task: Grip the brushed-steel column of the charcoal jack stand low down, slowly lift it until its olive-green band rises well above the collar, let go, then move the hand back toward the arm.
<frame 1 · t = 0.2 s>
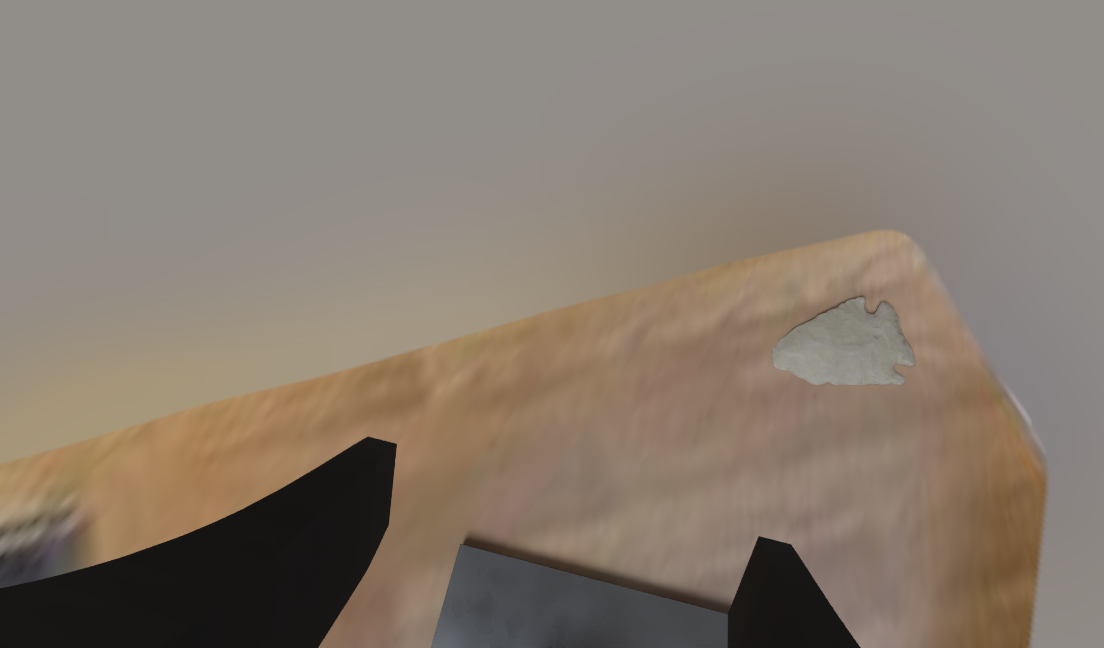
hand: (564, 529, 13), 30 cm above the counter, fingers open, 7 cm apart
arrowhead: (834, 353, 48), on the counter
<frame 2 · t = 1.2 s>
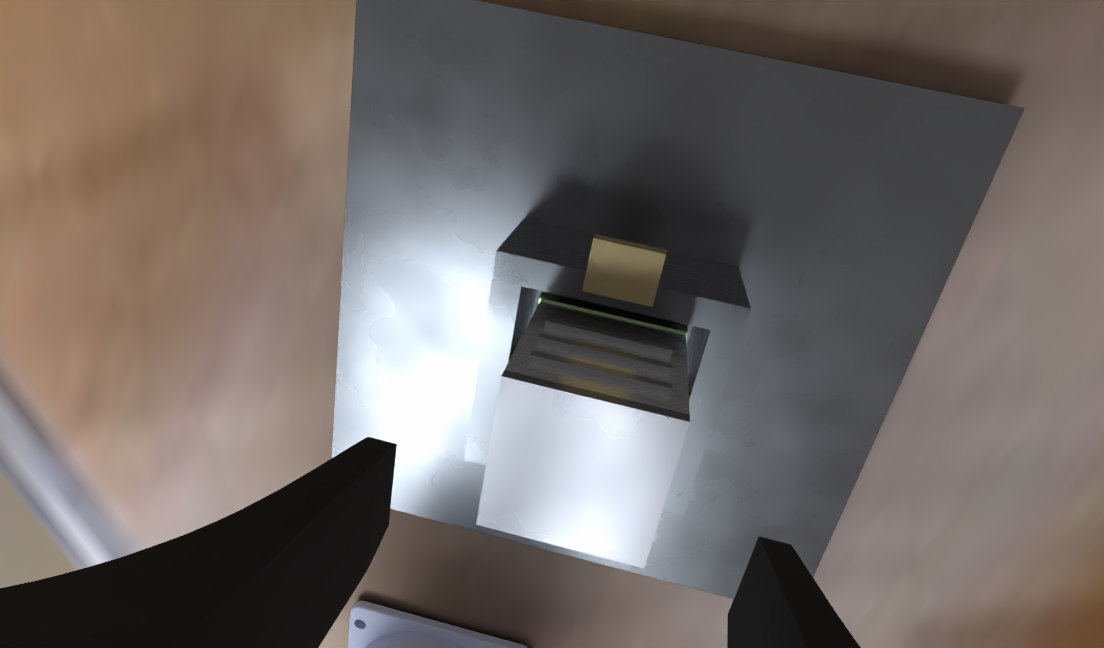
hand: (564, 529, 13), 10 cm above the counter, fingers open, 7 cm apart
column: (594, 395, 18), point 5 cm above the counter, slide at 0.0 cm
stand base: (609, 327, 22), on the counter
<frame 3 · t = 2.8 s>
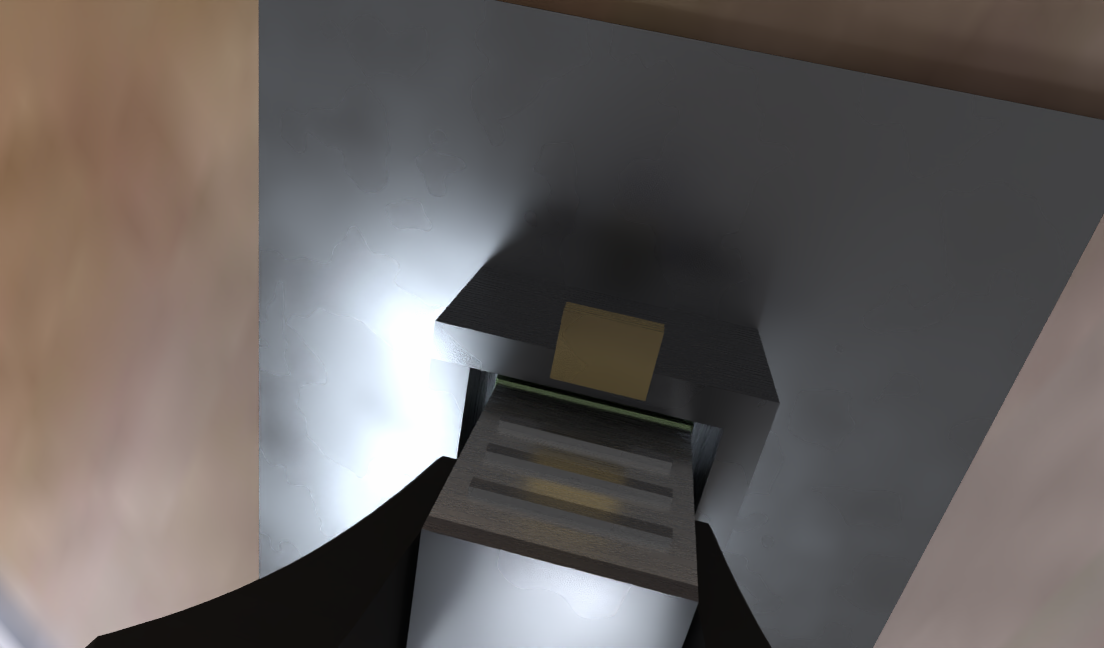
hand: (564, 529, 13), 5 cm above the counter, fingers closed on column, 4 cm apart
column: (568, 509, 13), point 5 cm above the counter, slide at 0.0 cm, touching gripper
stand base: (593, 396, 18), on the counter
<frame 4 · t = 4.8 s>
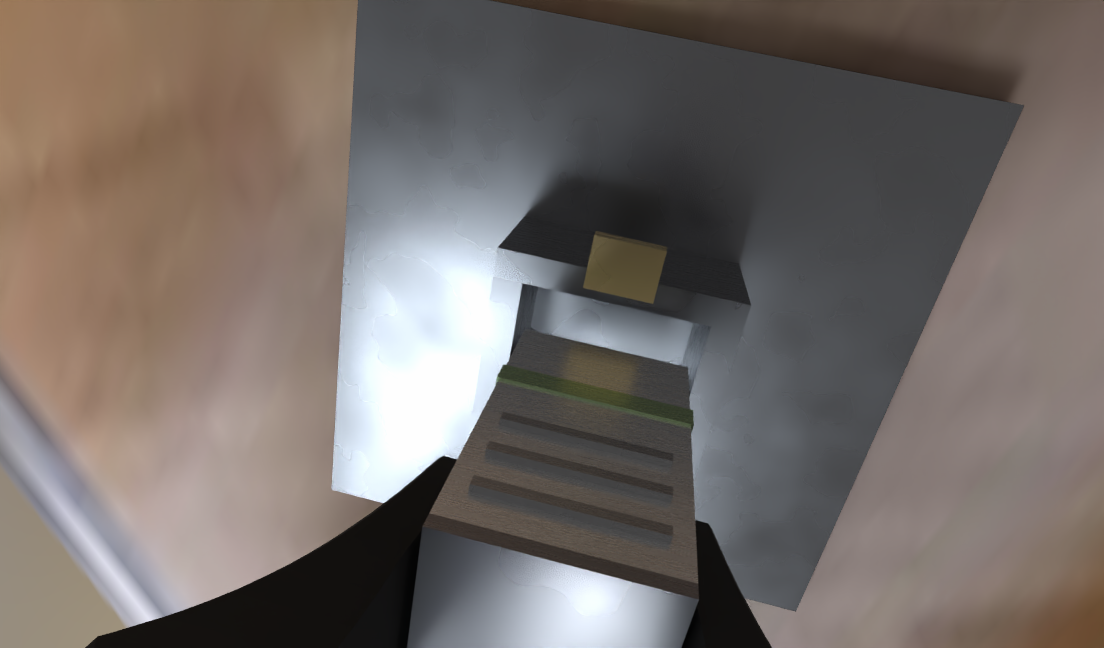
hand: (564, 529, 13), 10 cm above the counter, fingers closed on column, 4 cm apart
column: (569, 507, 14), point 10 cm above the counter, slide at 4.9 cm, touching gripper
stand base: (610, 324, 22), on the counter
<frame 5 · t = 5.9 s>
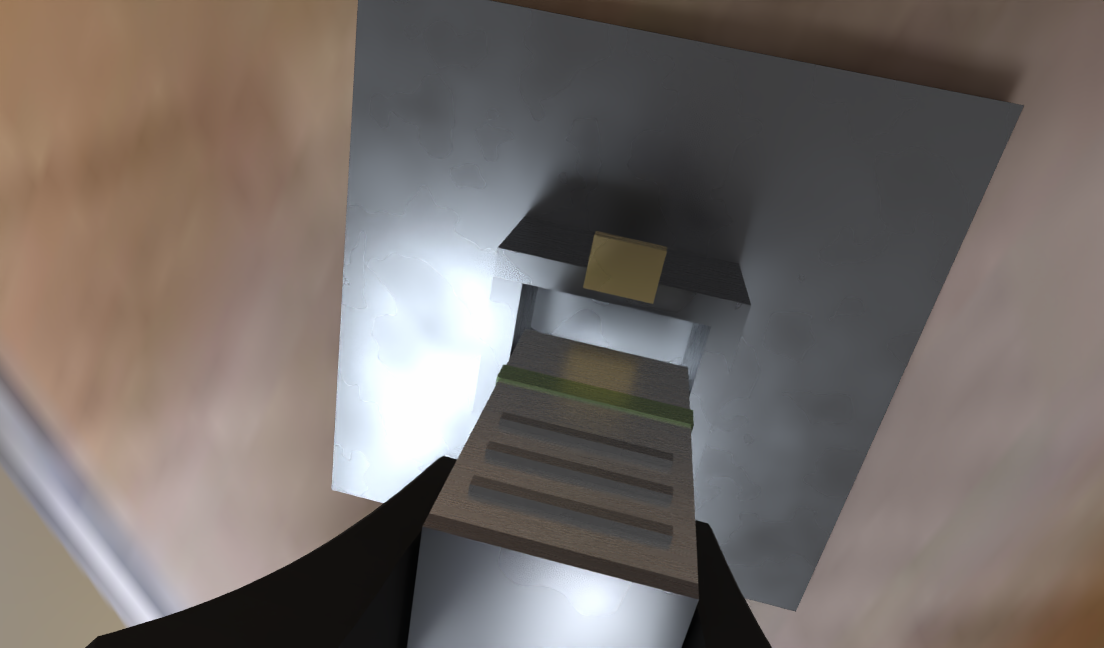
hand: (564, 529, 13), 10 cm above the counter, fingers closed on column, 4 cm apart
column: (569, 507, 14), point 10 cm above the counter, slide at 4.9 cm, touching gripper
stand base: (610, 324, 22), on the counter
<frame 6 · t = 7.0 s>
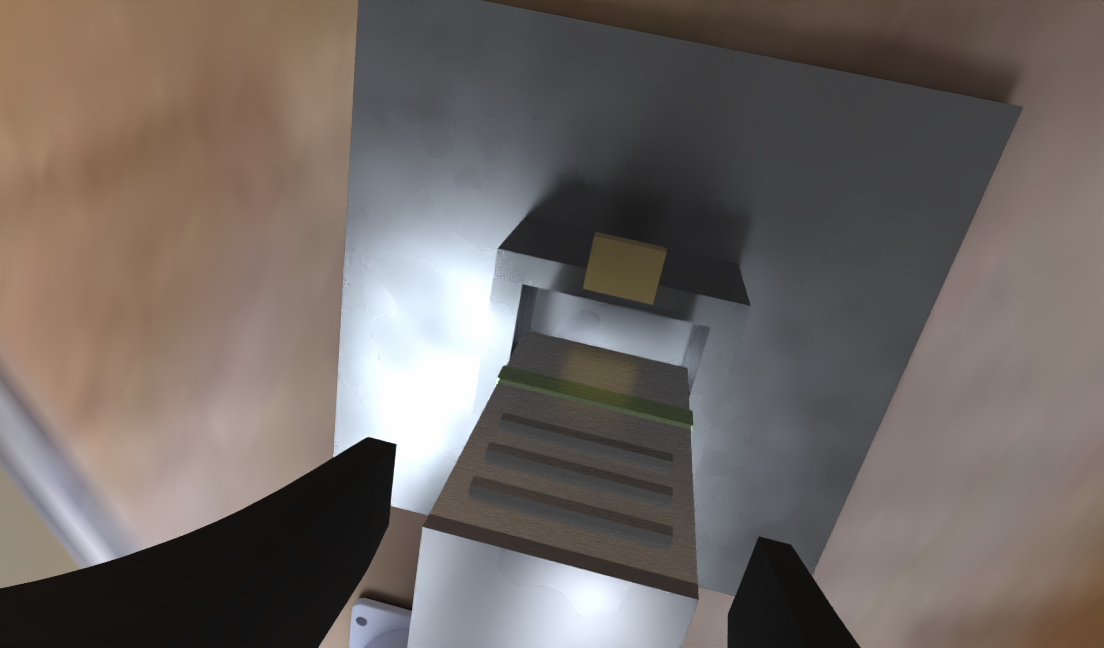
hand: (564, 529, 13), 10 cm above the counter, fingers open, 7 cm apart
column: (568, 508, 14), point 10 cm above the counter, slide at 4.9 cm
stand base: (609, 325, 22), on the counter
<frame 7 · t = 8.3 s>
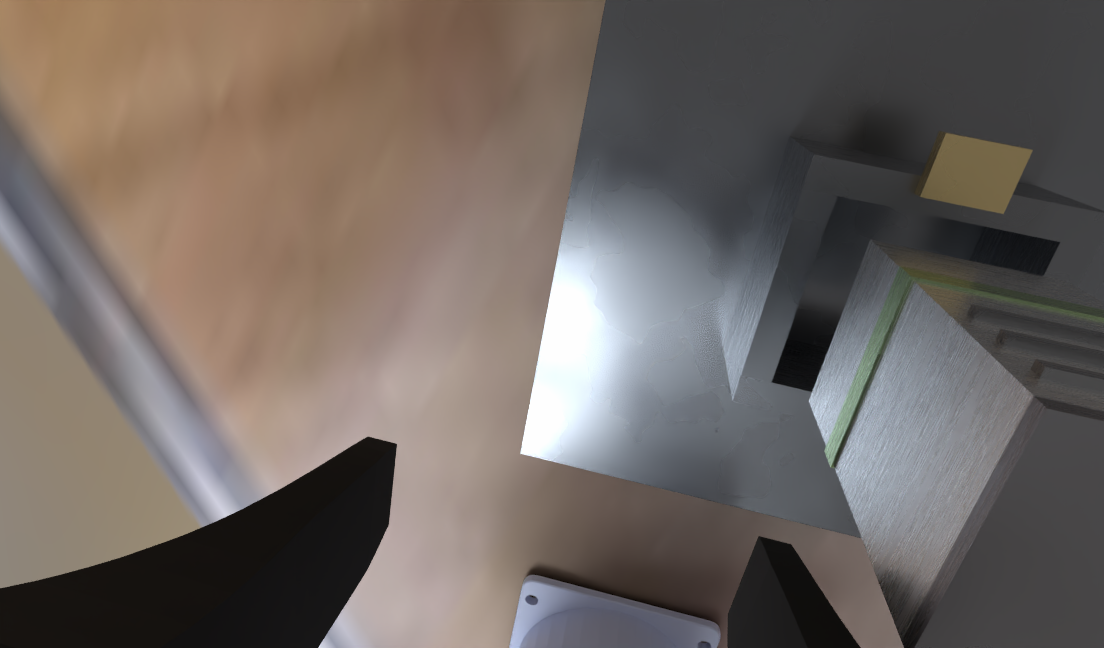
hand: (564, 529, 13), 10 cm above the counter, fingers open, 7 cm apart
column: (1004, 428, 11), point 10 cm above the counter, slide at 4.9 cm
stand base: (858, 263, 20), on the counter
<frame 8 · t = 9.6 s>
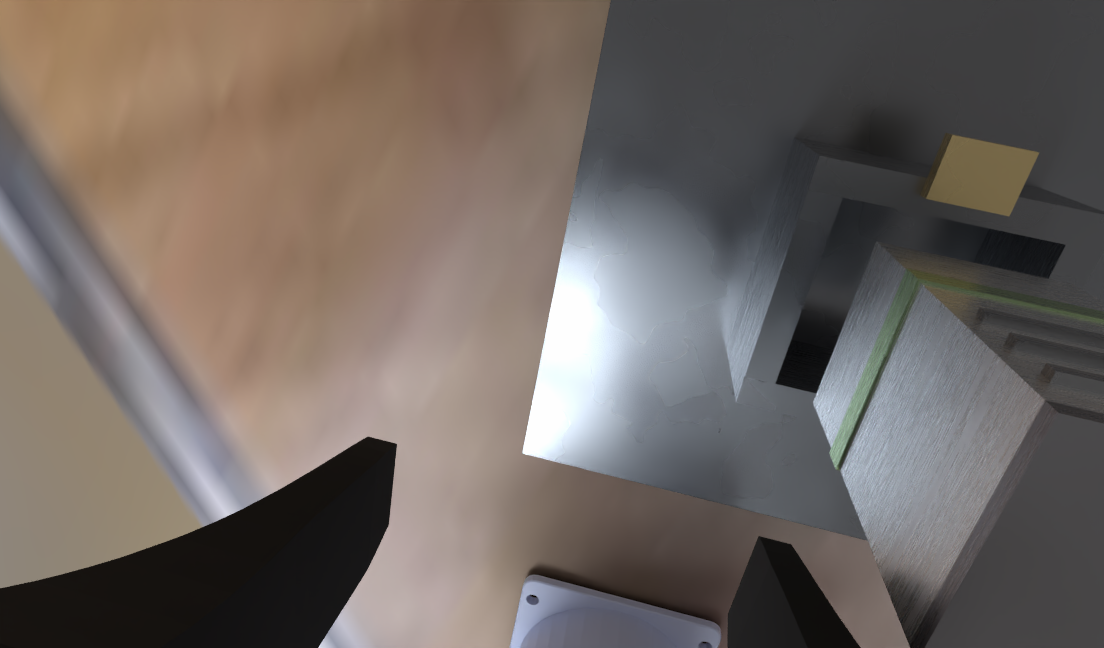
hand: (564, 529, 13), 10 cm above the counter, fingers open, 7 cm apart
column: (1011, 431, 11), point 10 cm above the counter, slide at 4.9 cm
stand base: (862, 264, 20), on the counter
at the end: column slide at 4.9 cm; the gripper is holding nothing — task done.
